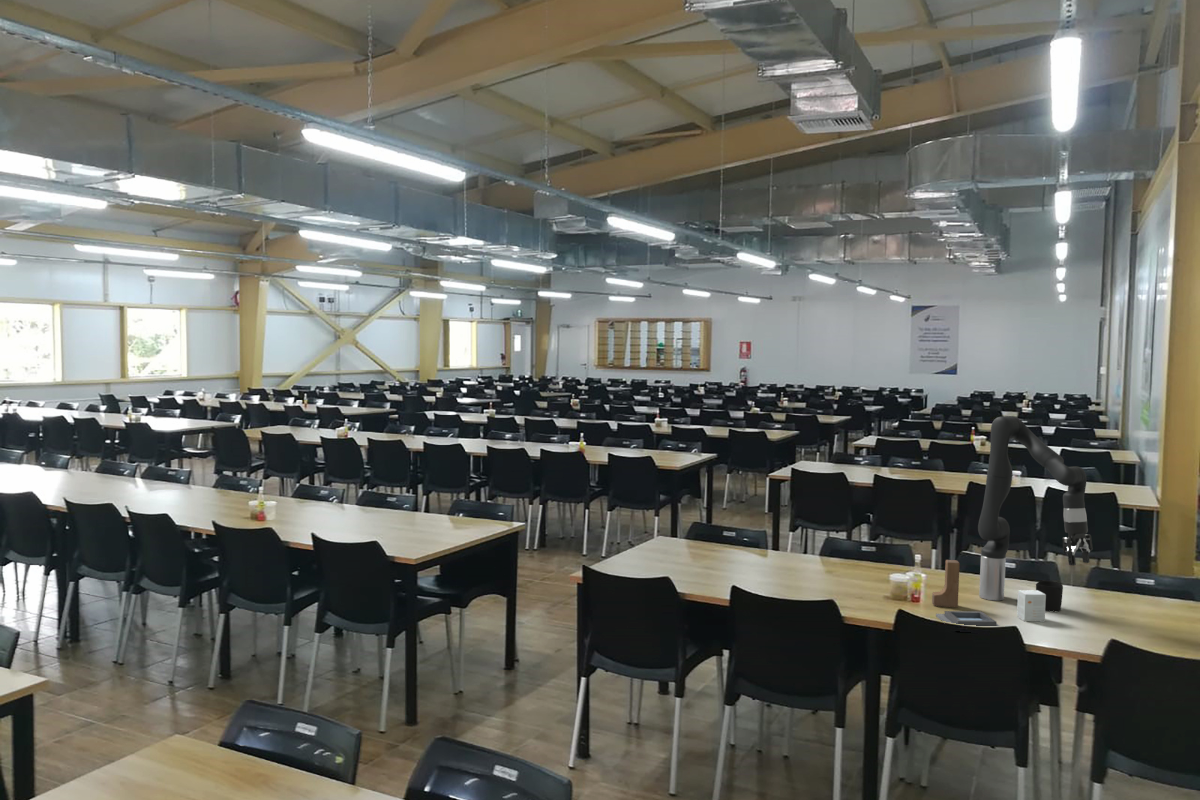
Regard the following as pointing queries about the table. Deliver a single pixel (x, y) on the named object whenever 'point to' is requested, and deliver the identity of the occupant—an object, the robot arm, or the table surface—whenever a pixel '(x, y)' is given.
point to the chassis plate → (967, 618)
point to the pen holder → (1051, 594)
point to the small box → (1031, 605)
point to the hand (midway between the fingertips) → (1079, 563)
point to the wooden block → (948, 586)
